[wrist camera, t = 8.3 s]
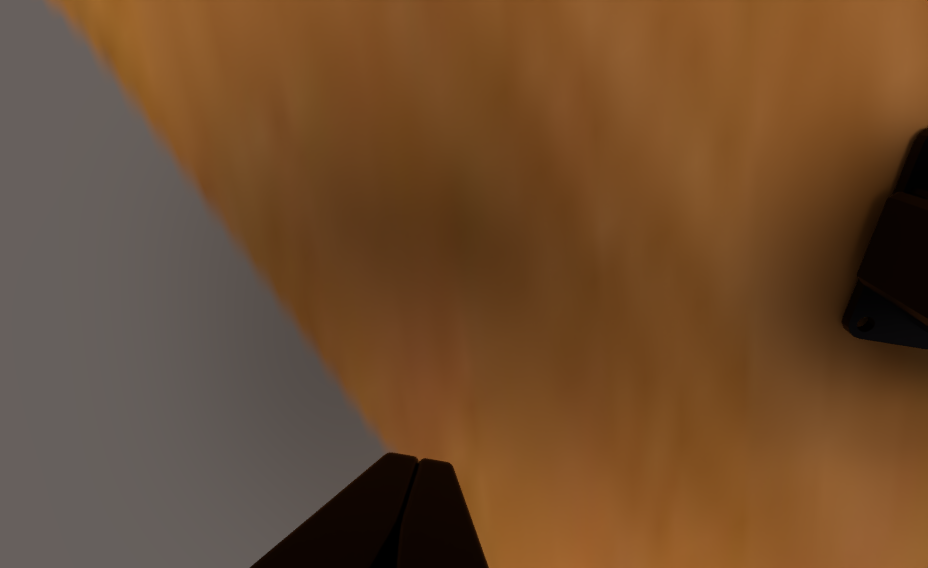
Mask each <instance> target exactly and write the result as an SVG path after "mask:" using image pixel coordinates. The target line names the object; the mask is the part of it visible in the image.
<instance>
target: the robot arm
mask: <svg viewBox="0 0 928 568" xmlns="http://www.w3.org/2000/svg"><path fill="white" fill-rule="evenodd" d="M857 276H858V281H857V283H856V286H855V288H854V290H853V293H852V295H851V298H850V300H849V303H848V305H847V308H846V310H845V313H844V315H843V318H842V325H843V328H845V329H846V330H847V331H848V332H849V333H850V334H851V335H853V336H854V337H856V338H859V339H865V340H871V341H878V342H884V343H890V344H897V345H903V346H909V347H916V348H922V349H928V128H927V129H925V130H924V131H922V132H921V133H920V134H919V135H918V136H917V138H916V139H915V141H914V143H913V146H912V148H911V151H910V153H909V156H908V158H907V161H906V163H905V165H904V168H903V170H902V173H901V175H900V178H899V180H898V183H897V185H896V188H895V190H894V192H893V195H892V196H891V197H889V198H888V199H887V201H886V203H885V206H884V208H883V211H882V213H881V216H880V218H879V221H878V223H877V226H876V228H875V231H874V233H873V236H872V238H871V240H870V243H869V245H868V248H867V250H866V253H865V255H864V258H863V260H862V263H861V265H860V268H859V270H858V273H857ZM864 317H868V318H867V321H866V323H865V324H864V325H862V326H857V323H858V322H859V320H860V319H862V318H864ZM250 568H489V567H488V564H487V561H486V559H485V556H484V553H483V550H482V547H481V544H480V542H479V539H478V536H477V533H476V530H475V527H474V525H473V522H472V519H471V516H470V513H469V510H468V508H467V505H466V502H465V499H464V496H463V493H462V490H461V488H460V485H459V482H458V479H457V476H456V473H455V471H454V468H453V466H452V464H450V463H448V462H444V461H438V460H433V459H427V458H424V459H422V460H421V461H420V462H419V461H418V459H417V458H416V457H415V456H410V455H404V454H398V453H390V452H389V453H387V454H385V455H384V456H382V457H381V458H380V459H379V460H378V461H377V462H376V463H374V464H373V465H372V466H371V467H369V468H368V469H367V470H366V471H365V472H363V473H362V474H361V475H360V476H359V477H357V479H355V480H354V481H353V482H351V483H350V484H349V485H348V486H347V487H346V488H344V489H343V490H342V491H341V492H339V493H338V494H337V495H336V496H335V497H334V498H332V499H331V500H330V501H329V502H328V503H326V504H325V505H324V506H323V507H322V508H320V509H319V510H318V511H317V512H316V513H315V514H313V515H312V516H311V517H310V518H309V519H307V520H306V521H305V522H304V523H302V524H301V525H300V526H299V527H298V528H296V529H295V530H294V531H293V532H292V533H290V534H289V535H288V536H287V537H286V538H284V540H282V541H281V542H280V543H278V544H277V545H276V546H275V547H274V548H273V549H271V550H270V551H269V552H268V553H267V554H266V555H264V556H263V557H262V558H261V559H259V560H258V561H257V562H256V563H255V564H254V565H252V566H251V567H250Z"/></svg>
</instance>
